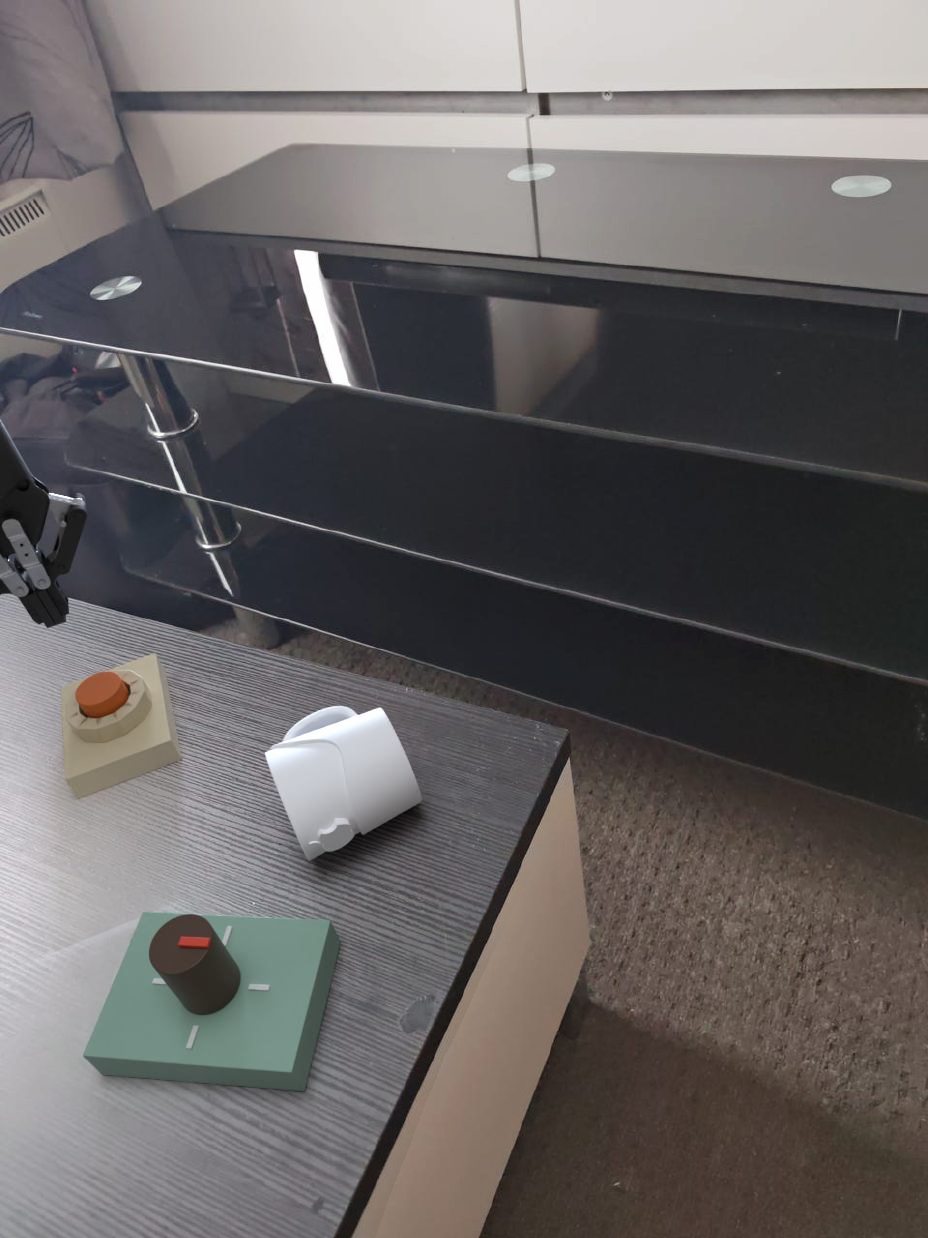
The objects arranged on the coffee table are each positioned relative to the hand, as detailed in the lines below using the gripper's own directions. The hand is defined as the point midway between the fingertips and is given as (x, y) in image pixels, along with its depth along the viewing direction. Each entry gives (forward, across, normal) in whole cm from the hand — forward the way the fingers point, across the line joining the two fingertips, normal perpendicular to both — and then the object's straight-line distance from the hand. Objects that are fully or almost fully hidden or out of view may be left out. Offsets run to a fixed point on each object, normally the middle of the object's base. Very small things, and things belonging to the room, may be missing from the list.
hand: (56, 619), depth 74 cm
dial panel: (+14, -4, +30) cm, 33 cm away
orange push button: (+10, 0, 0) cm, 10 cm away
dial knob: (+11, -4, +30) cm, 32 cm away
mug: (+14, -17, +17) cm, 28 cm away
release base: (+14, 0, 0) cm, 14 cm away
